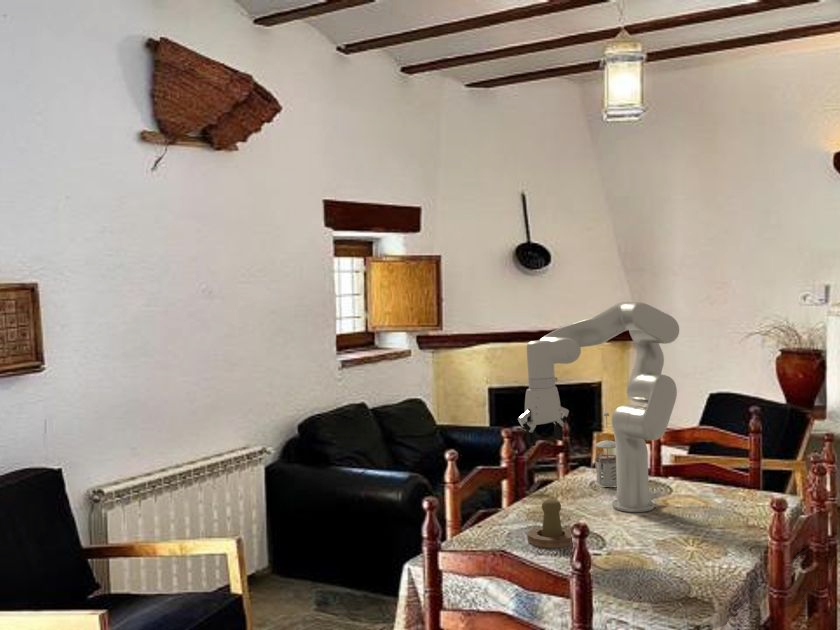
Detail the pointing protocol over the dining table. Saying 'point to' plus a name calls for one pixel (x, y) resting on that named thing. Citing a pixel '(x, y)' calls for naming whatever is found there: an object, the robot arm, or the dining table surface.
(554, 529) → the cork
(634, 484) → the robot arm
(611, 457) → the french press
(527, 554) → the dining table surface
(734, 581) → the dining table surface
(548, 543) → the bead ring
